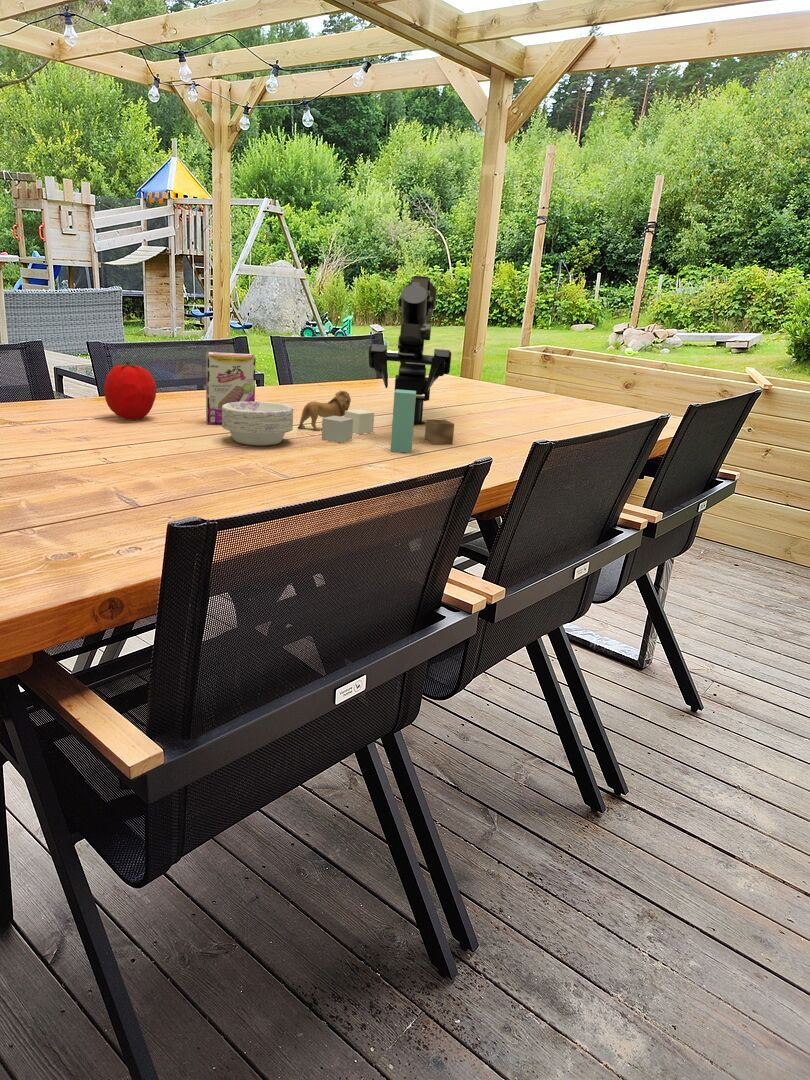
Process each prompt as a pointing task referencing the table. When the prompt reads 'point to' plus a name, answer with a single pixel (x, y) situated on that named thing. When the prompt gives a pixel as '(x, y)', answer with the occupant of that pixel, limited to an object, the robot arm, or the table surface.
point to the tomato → (130, 391)
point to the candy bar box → (228, 382)
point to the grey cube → (337, 428)
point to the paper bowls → (257, 422)
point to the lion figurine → (326, 409)
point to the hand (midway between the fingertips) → (406, 388)
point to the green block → (403, 420)
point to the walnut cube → (439, 432)
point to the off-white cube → (361, 420)
